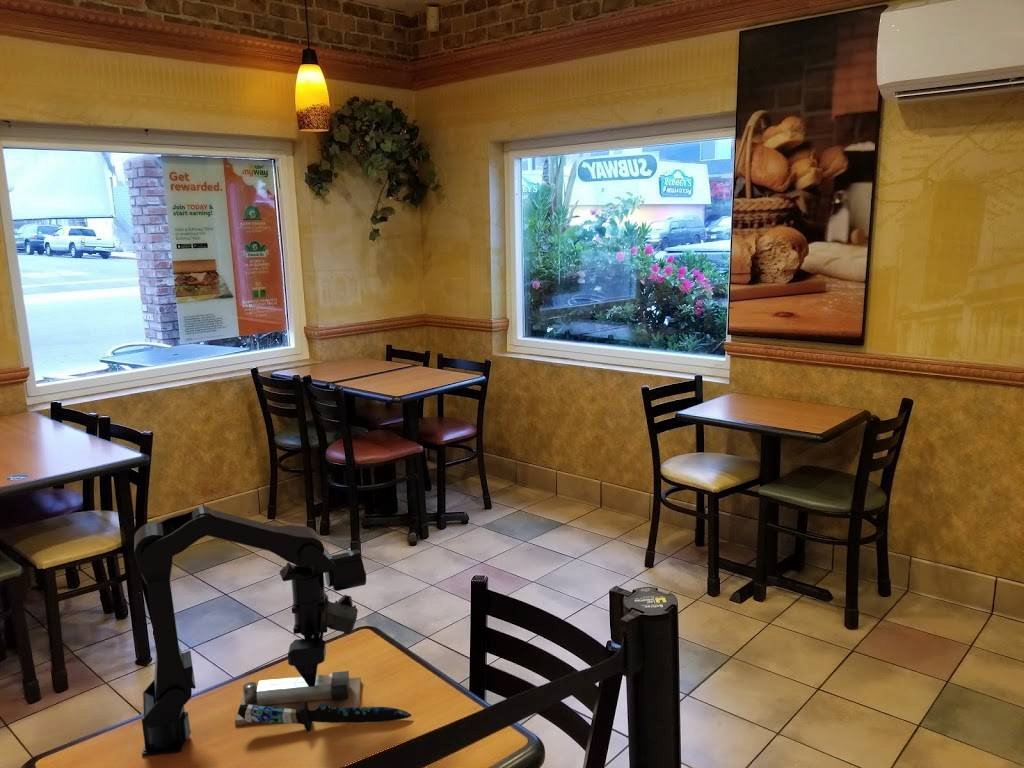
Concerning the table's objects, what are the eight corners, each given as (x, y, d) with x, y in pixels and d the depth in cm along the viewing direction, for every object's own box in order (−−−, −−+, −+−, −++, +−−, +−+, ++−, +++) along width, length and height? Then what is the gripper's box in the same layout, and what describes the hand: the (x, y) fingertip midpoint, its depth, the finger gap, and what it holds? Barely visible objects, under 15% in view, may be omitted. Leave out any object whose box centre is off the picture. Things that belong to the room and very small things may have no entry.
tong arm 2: (259, 699, 145) (258, 685, 144) (261, 692, 147) (260, 678, 146) (348, 691, 147) (347, 677, 146) (349, 684, 149) (348, 671, 148)
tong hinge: (243, 705, 143) (241, 690, 143) (245, 697, 146) (244, 682, 145) (256, 704, 144) (255, 688, 143) (258, 696, 146) (257, 681, 145)
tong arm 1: (257, 707, 143) (255, 693, 142) (259, 700, 145) (258, 686, 144) (348, 698, 145) (347, 684, 144) (348, 691, 147) (347, 677, 146)
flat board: (235, 725, 140) (234, 720, 139) (245, 692, 149) (245, 687, 149) (358, 713, 143) (358, 708, 142) (361, 681, 152) (360, 677, 152)
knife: (236, 729, 136) (236, 707, 136) (241, 718, 139) (241, 696, 138) (409, 737, 139) (410, 716, 138) (410, 726, 142) (412, 705, 141)
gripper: (350, 617, 134) (355, 697, 137) (356, 570, 152) (360, 641, 155) (284, 622, 132) (291, 703, 136) (298, 574, 150) (303, 646, 154)
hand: (314, 671), depth 145 cm, fingers open, 9 cm apart
